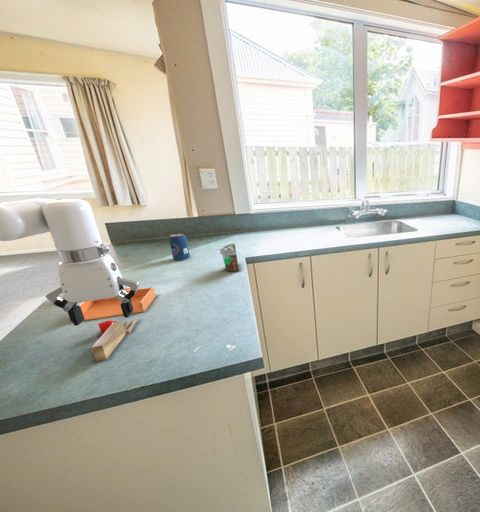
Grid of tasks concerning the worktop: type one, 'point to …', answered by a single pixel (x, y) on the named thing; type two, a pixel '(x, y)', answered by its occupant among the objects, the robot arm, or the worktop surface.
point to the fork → (111, 339)
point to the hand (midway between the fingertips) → (104, 318)
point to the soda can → (179, 247)
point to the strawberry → (105, 325)
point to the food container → (230, 257)
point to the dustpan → (117, 305)
